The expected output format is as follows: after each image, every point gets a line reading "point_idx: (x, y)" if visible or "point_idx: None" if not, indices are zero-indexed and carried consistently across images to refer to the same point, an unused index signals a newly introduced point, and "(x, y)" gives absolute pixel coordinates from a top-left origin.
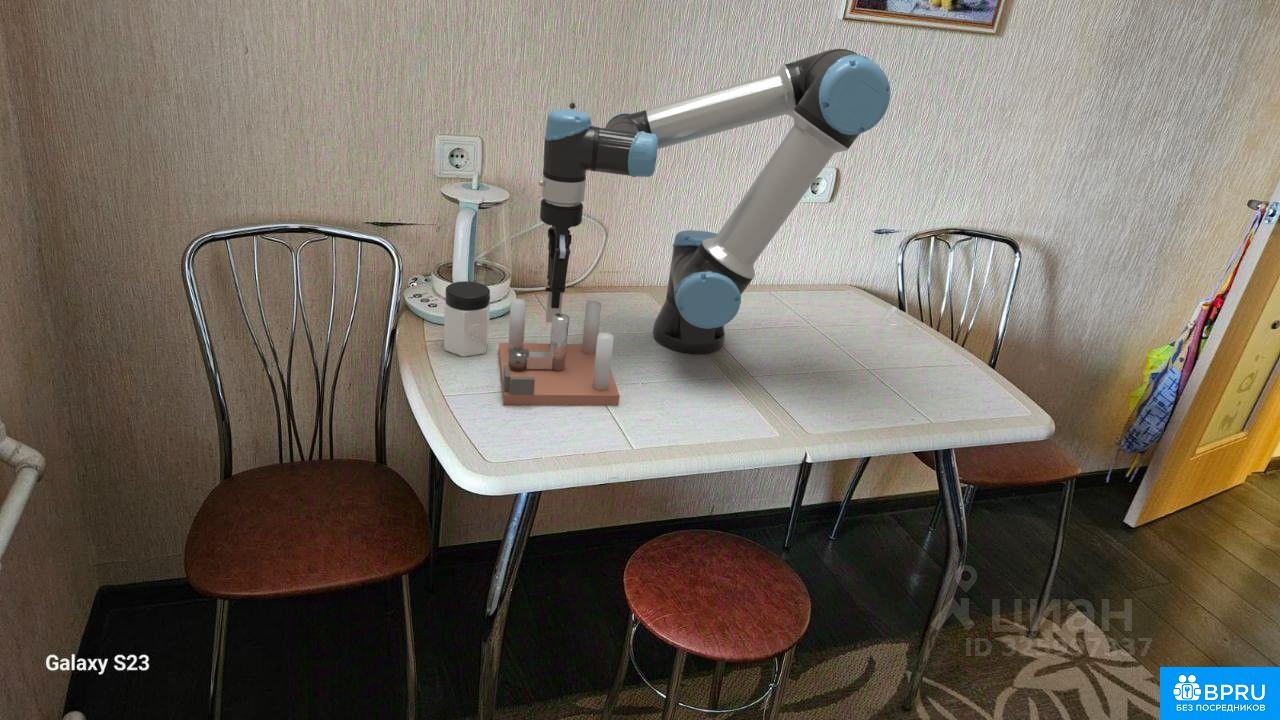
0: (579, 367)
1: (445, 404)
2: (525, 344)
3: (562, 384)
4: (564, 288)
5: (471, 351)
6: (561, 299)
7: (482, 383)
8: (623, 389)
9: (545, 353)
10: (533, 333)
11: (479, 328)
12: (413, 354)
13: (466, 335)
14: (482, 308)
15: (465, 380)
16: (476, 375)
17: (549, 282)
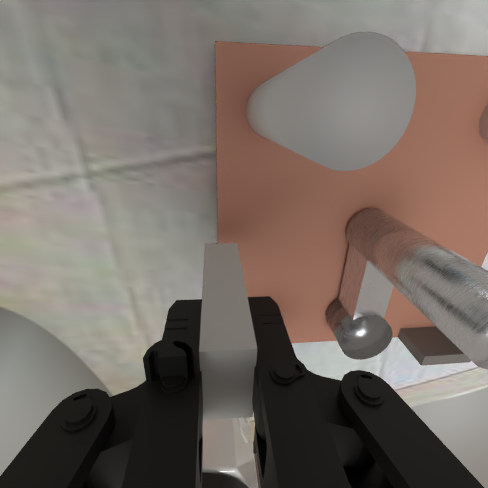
0: (376, 163)
1: (404, 389)
2: None
3: (452, 222)
4: (414, 413)
5: None
6: (248, 311)
7: None
8: (461, 21)
9: (373, 276)
10: (95, 254)
11: (241, 421)
12: None
13: (249, 425)
14: (239, 481)
15: (334, 372)
16: (318, 359)
17: (202, 455)
